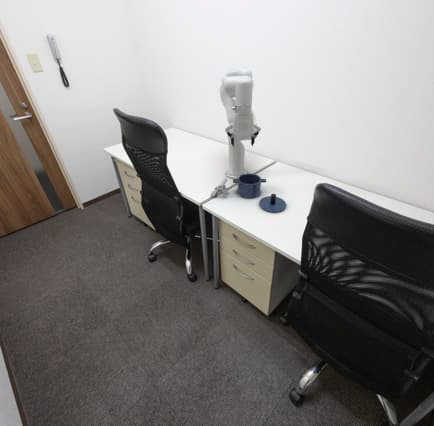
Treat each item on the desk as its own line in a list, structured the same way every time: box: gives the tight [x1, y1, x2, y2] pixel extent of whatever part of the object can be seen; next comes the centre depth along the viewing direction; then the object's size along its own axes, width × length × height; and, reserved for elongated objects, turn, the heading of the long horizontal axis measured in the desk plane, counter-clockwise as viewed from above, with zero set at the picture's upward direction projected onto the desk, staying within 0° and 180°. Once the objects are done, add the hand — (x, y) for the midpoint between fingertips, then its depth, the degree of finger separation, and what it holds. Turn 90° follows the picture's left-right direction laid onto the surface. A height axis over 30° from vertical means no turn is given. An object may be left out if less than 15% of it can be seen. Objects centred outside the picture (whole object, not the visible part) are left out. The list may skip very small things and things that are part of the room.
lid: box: [258, 193, 287, 213], centre depth 120 cm, size 14×14×6 cm
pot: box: [232, 173, 267, 199], centre depth 130 cm, size 13×18×8 cm
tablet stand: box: [210, 177, 229, 198], centre depth 129 cm, size 9×8×8 cm
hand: (242, 145), depth 119 cm, fingers open, 9 cm apart
